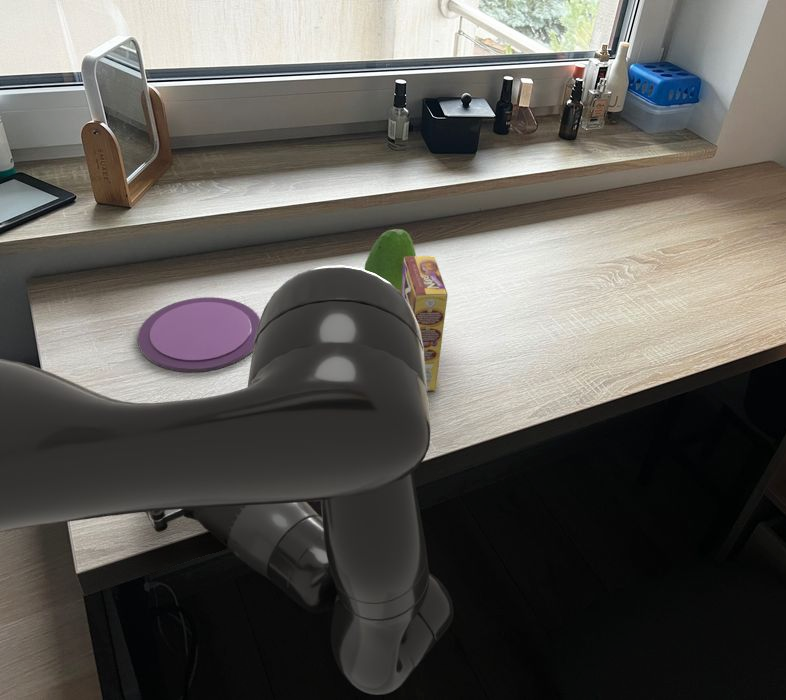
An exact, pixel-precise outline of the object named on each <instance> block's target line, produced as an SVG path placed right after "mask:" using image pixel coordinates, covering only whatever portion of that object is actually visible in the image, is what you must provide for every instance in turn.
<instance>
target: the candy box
mask: <svg viewBox="0 0 786 700" xmlns="http://www.w3.org/2000/svg"><path fill="white" fill-rule="evenodd" d="M445 285H446V284H445V283H444V280H443V276H442V274H441V271H440V268H439V266H438V263H437V261H436V256H434V255H433V256H432V255H416V256H413V257H404V264H403V278H402V290H401V294H402V295H403V297H404V298H405V299H406V301H407V302H408V303H409V305H410V306H411V309H412V311H413V313H414V315H415V317H416V319H417V322H418V325H419V328H420V332H421V337H422V342H423V348H424V360H425V371H426V382H427V392H430V391H434V392H435V391H436V388H437V383H438V373H439V367H440V359H441V351H442V350H441V349H442V341H443V334H444V326H445V318H446V310H447V304H448V295H449V294H448V291H447V289H446V286H445Z"/></svg>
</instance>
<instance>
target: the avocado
mask: <svg viewBox="0 0 786 700" xmlns="http://www.w3.org/2000/svg"><path fill="white" fill-rule="evenodd" d="M413 242H414V241H413V240H412V238H411V236H410V233H408V232H407V231H406V230H404V229H399V228H397V229H388V230H386V231H385V232H383V233H381V235H379V237H378V238H377V239H376V240H375V242H374V244H373V246H372V248H371V249H370V252H369V254H368V256H367V259H366V260H365V263H364V270H366V271H368V272H371V273H374V274H376V275H378V276H380V277H381V278H383V279H385V280H386V281H388V282H389V283H390V284H392V285H393V286H394V287H395V288H396V289H397V290H398V291H399V292H400V293H401V290H402V278H403V264H404V257H413V256H417V254H416V250H415V245H414V243H413Z"/></svg>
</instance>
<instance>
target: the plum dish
mask: <svg viewBox="0 0 786 700" xmlns="http://www.w3.org/2000/svg"><path fill="white" fill-rule="evenodd" d="M260 319H261V317H260V316H259V314H258V313H257V312H256V311H255V310H254V309H252V308H251V307H250V306H248V305H246V304H244V303H242V302H240V301H237V300H233V299H229V298H223V297H213V296H210V297H209V296H208V297H207V296H205V297H194V298H188V299H184V300H181V301H176V302H173V303H171V304H168V305H166V306H164V307H161V308H160V309H158V310H157V311H155V312H154V313H152V314H151V315H150V316H149V317H147V318H146V319H145V321H144V322H143V323H142V325H141V327H140V328H139V330H138V334H137V343H138V348H139V350H140V352H141V353H142V355H143V356H144V357H145V358H146V359H147V360H148V361H150V362H151V363H152V364H154V365H156V366H158V367H161V368H163V369H166V370H170V371H175V372H182V373H201V372H209V371H215V370H219V369H222V368H226V367H229V366H231V365H234V364H236V363H238V362H240V361H241V360H244V359H245V358H246V357H248V356H249V355H250V354H252V350H253V344H254V338H255V333H256V330H257V327H258V324H259V321H260Z"/></svg>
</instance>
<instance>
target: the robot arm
mask: <svg viewBox="0 0 786 700" xmlns="http://www.w3.org/2000/svg"><path fill="white" fill-rule="evenodd" d="M248 375H249V376H248V381H247V387H244V388H242V389H237V390H235V391H232V392H228V393H223V394H218V395H213V396H206V397H201V398H194V399H184V400H173V401H161V402H132V401H131V402H130V401H125V400H120V399H116V398H112V397H109V396H107V395H104V394H102V393H99V392H96V391H94V390H92V389H89V388H87V387H85V386H84V385H83V386H82V385H81V384H78V383H76V382H74V381H72V380H70V379H68V378H65V377H62V376H60V375H58V374H55V373H53V372H50V371H48V370H45V369H42V368H40V367H36V366H34V365H32V364H31V365H30V364H27V363H24V362H20V361H16V360H10V359H5V358H0V533H5V532H10V531H11V532H12V531H15V530H16V531H17V530H22V529H27V528H28V529H29V528H34V527H41V526H47V525H54V524H62V523H68V522H77V521H84V520H91V519H98V518H105V517H113V516H122V515H123V516H124V515H131V514H139V513H140V514H141V513H145V514H146V516H147V518H148V520H149V522H150V524H151V526H152V528H153V530H154V531H155V532H157V533H162V532H164V531H166V530H167V529H168V526H169V524H168V523H169V522H172V521H175V520H176V519H179V518H181V517H184V518H186V519H191V520H194V521H197V522H198V523H199V524H200V525H201V526H202V527H203V528H204V529H205V530H206V531H207V532H209V533H210V534H211V535H212V536H213V537H215V539H217V540H218V541H219V542H220V543H221V544H223V546H225V547H226V548H228V550H229V551H231V552H232V553H233V555H234V556H235V557H236V558H237V559H238V560H239V561H241V562H243V563H245V564H246V565H247V566H248V567H249V568H251V569H252V570H254V572H256V573H258V574H260V575H262V576H263V577H265V578H266V579H268V580H269V581H270V582H271V583H272V584H274V585H275V586H276V587H277V588H278V589H279V590H280V591H282V592H283V593H284V594H285V595H287V596H288V597H289V598H290V599H291V600H293V602H294V603H296V604H297V605H298V606H299V607H301V608H302V609H304V610H305V611H307V612H308V613H310V614H322V613H326V612H327V611H328V612H329V611H330V610H332V609H333V611H332V617H331V624H330V645H331V650H332V655H333V657H334V660H335V663H336V665H337V667H338V669H339V671H340V672H341V674H342V675H343V676H344V678H345V679H346V680H347V681H348V682H349V683H350V684H351V685H352V686H353V687H355V688H356V689H357V690H359V691H361V692H363V693H365V694H366V693H367V694H369V695H375V696H377V695H387V694H389V693H392V692H394V691H396V690H397V689H398V688H400V687H401V686H402V685H403V684H404V683H405V682H406V681H407V680H408V678H409V677H410V676H411V674H413V672H414V671H415V670H416V668H417V667H418V666H419V665H420V664H421V662H422V661H423V660H424V658H425V657H426V656H427V655H428V653H429V652H430V651H431V650H432V648H433V647H434V646H435V645H436V644H437V642H438V641H439V640H440V639H441V638H442V637H443V635H444V634H445V633H446V631H448V629H449V627H450V625H451V624H452V621H453V618H454V605H453V600H452V598H451V596H450V592H449V591H448V590H447V588H446V587H445V585H444V584H443V583H442V582H441V581H440V579H438V578H437V577H436V576H435V575H434V574H432V573H431V572H430V567H429V559H428V553H427V545H426V538H425V533H424V526H423V521H422V517H421V515H422V514H421V511H420V506H419V499H418V493H417V490H416V483H415V478H414V471H416V470H417V468H418V467H419V466H420V465H421V464H422V462H423V461H424V460H425V458H426V456H427V453H428V451H429V449H430V445H431V444H430V443H431V430H432V429H431V428H432V427H431V415H430V403H429V397H428V396H429V395H428V392H429V391H427V382H426V371H425V360H424V348H423V342H422V337H421V332H420V328H419V325H418V322H417V319H416V317H415V315H414V313H413V311H412V309H411V306H410V305H409V303H408V302H407V301H406V299H405V298H404V297H403V295H402V294H401V293H400V292H399V291H398V290H397V289H396V288H395V287H394V286H393V285H392V284H390V283H389V282H388V281H386V280H385V279H383V278H381V277H380V276H378V275H376V274H374V273H371V272H368V271H366V270H365V269H363V268H358V267H354V266H348V265H325V266H318V267H314V268H311V269H308V270H305V271H302V272H300V273H297V274H295V275H294V276H293V277H291V278H289V279H288V280H286V281H285V282H284V283H283V284H282V285H281V286H280V287H278V289H277V290H276V291H274V292H273V294H272V295H271V297H270V298H269V300H268V302H267V303H266V305H265V306H264V308H263V311H262V313H261V316H260V321H259V324H258V327H257V330H256V333H255V338H254V344H253V350H252V352H251V359H250V367H249V374H248ZM311 502H320V508H321V515H320V514H318V513H317V511H315V509H314V508H313V507H312V506H311V505H310V504H309V503H311Z"/></svg>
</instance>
